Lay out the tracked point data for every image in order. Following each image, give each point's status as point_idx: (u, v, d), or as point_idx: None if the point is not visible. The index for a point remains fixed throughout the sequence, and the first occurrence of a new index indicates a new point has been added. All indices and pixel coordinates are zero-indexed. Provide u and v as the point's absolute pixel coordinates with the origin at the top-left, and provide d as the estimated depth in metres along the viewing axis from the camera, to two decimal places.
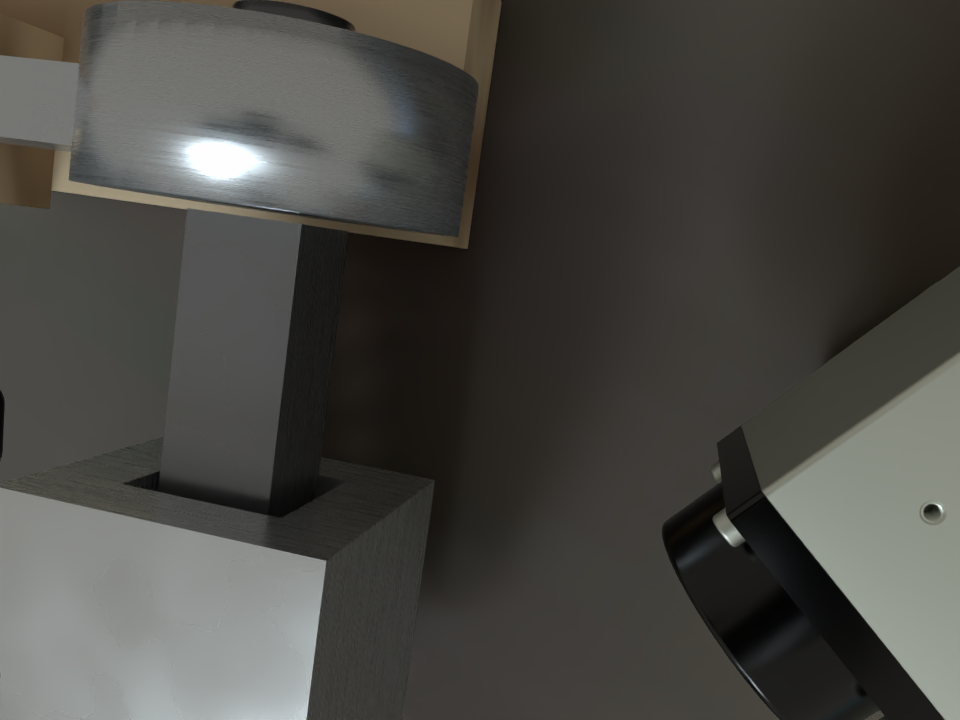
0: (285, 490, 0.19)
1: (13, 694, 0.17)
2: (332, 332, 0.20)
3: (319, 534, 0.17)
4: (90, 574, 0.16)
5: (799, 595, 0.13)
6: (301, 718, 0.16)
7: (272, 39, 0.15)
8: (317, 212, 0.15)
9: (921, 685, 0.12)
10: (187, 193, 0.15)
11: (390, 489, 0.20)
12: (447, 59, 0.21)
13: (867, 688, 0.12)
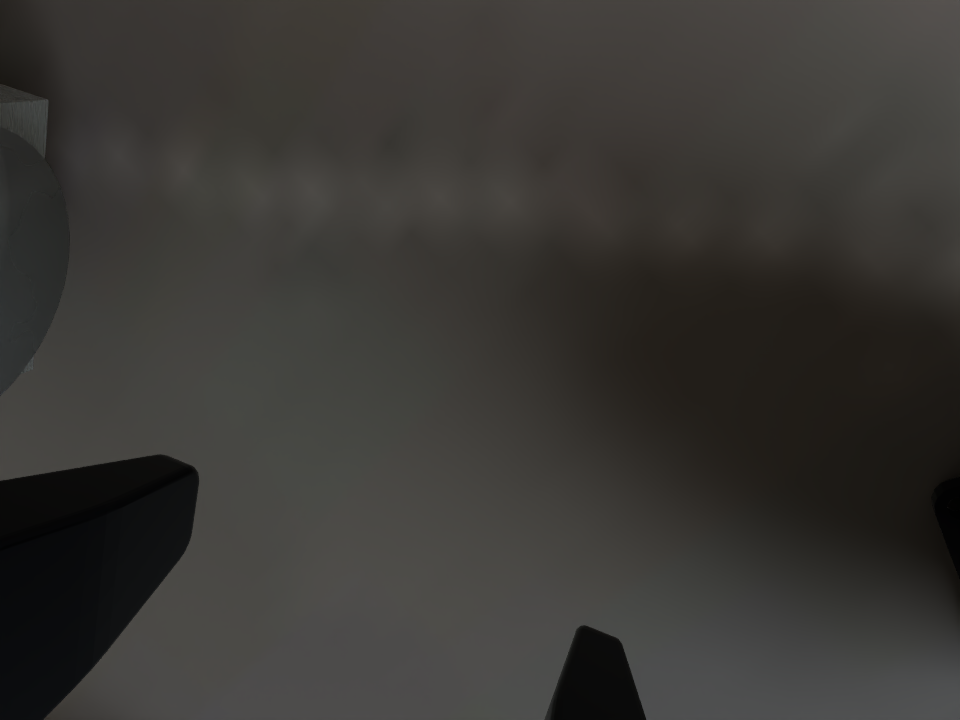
0: None
1: None
2: None
3: None
4: None
5: None
6: None
7: None
8: None
9: None
10: None
11: None
12: None
13: None
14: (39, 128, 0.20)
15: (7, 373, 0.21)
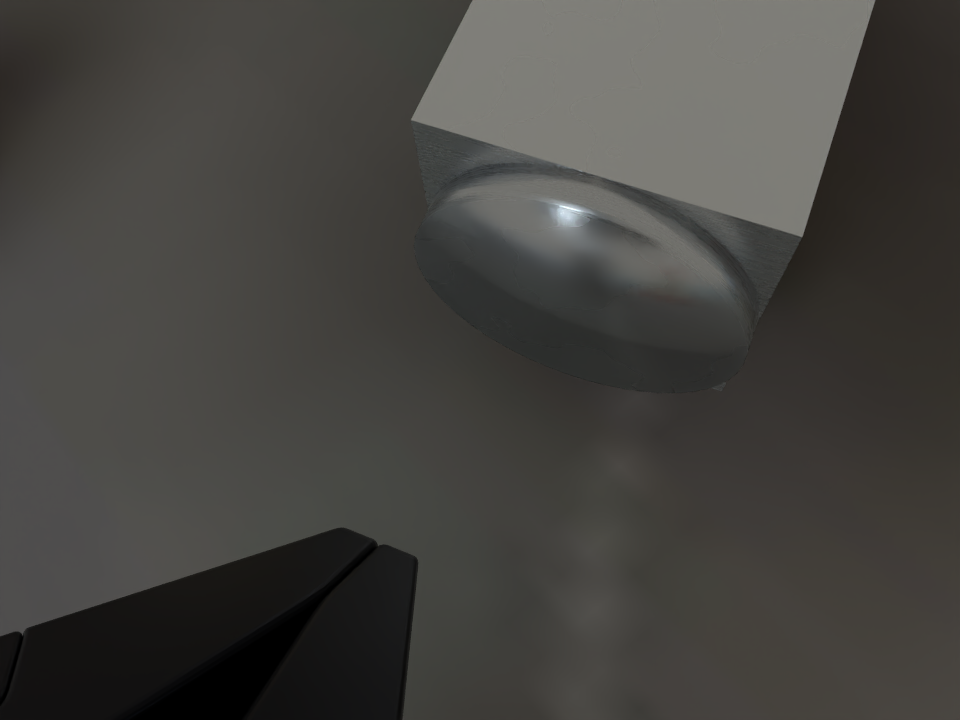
0: None
1: None
2: None
3: None
4: None
5: None
6: (858, 34, 0.16)
7: None
8: None
9: None
10: None
11: None
12: None
13: None
14: None
15: (458, 304, 0.19)
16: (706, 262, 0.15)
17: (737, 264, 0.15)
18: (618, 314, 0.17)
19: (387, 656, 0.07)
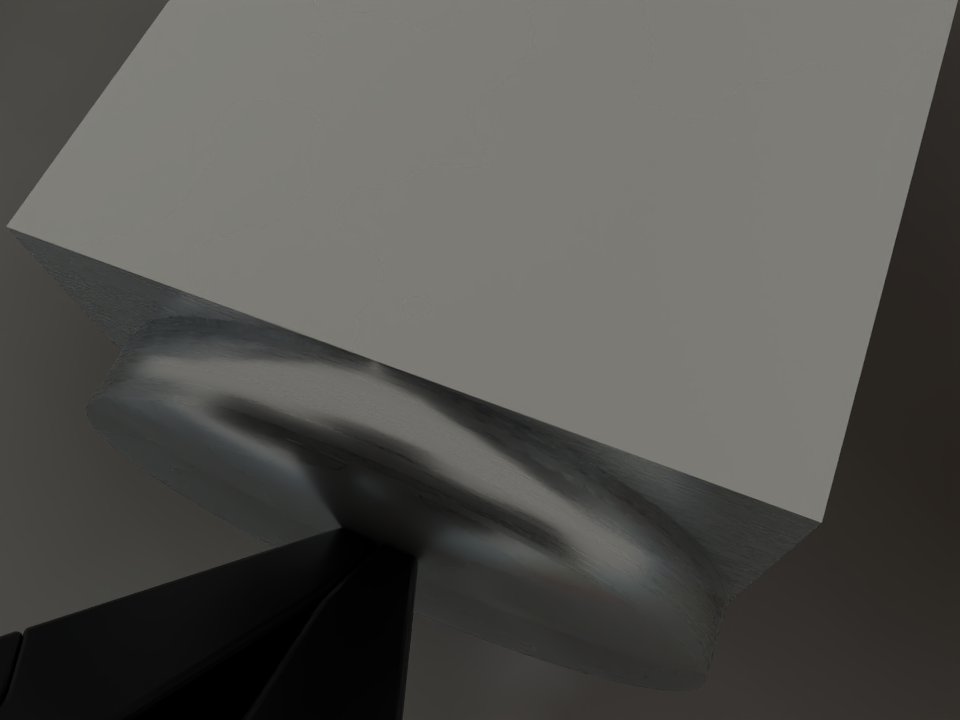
0: None
1: None
2: None
3: None
4: None
5: None
6: (928, 65, 0.08)
7: None
8: None
9: None
10: None
11: None
12: None
13: None
14: None
15: (222, 514, 0.11)
16: (611, 548, 0.07)
17: (683, 532, 0.07)
18: (464, 585, 0.09)
19: (387, 655, 0.07)
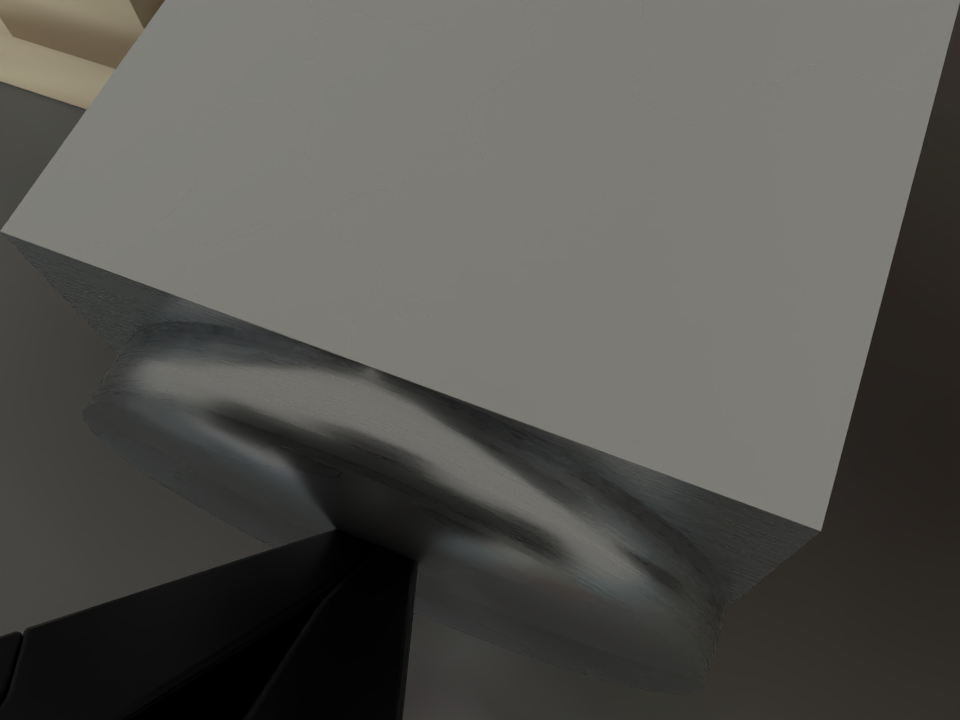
0: None
1: None
2: None
3: None
4: None
5: None
6: (930, 65, 0.08)
7: None
8: None
9: None
10: None
11: None
12: None
13: None
14: None
15: (221, 515, 0.11)
16: (609, 555, 0.07)
17: (682, 537, 0.07)
18: (463, 589, 0.09)
19: (387, 655, 0.07)
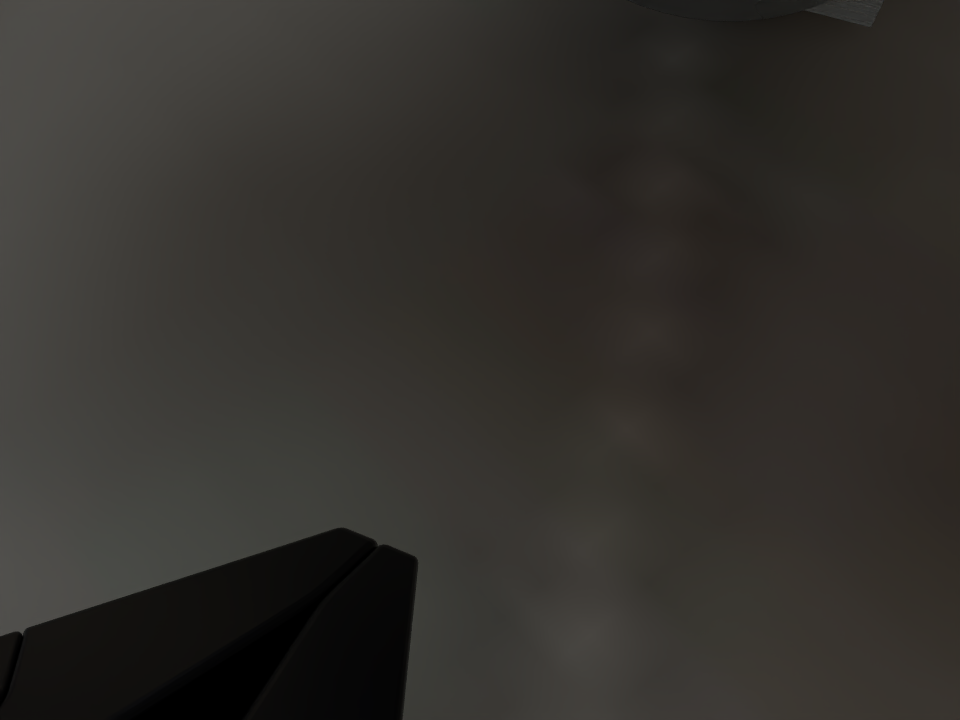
0: None
1: None
2: None
3: None
4: None
5: None
6: None
7: None
8: None
9: None
10: None
11: None
12: None
13: None
14: (837, 8, 0.15)
15: None
16: None
17: None
18: None
19: (387, 655, 0.07)
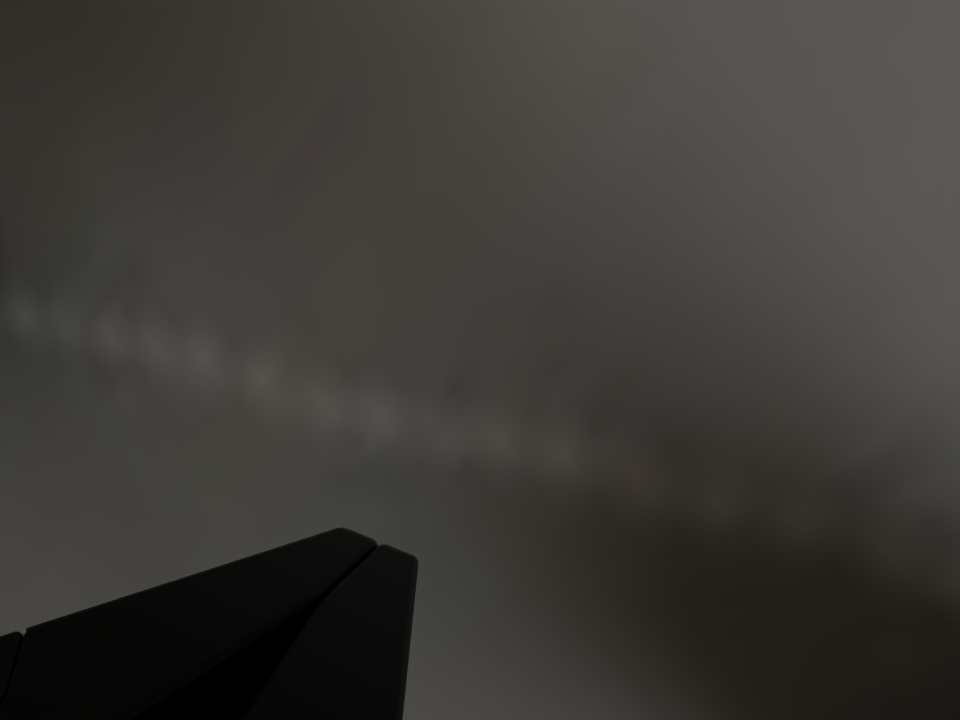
0: None
1: None
2: None
3: None
4: None
5: None
6: None
7: None
8: None
9: None
10: None
11: None
12: None
13: None
14: None
15: None
16: None
17: None
18: None
19: (387, 656, 0.07)
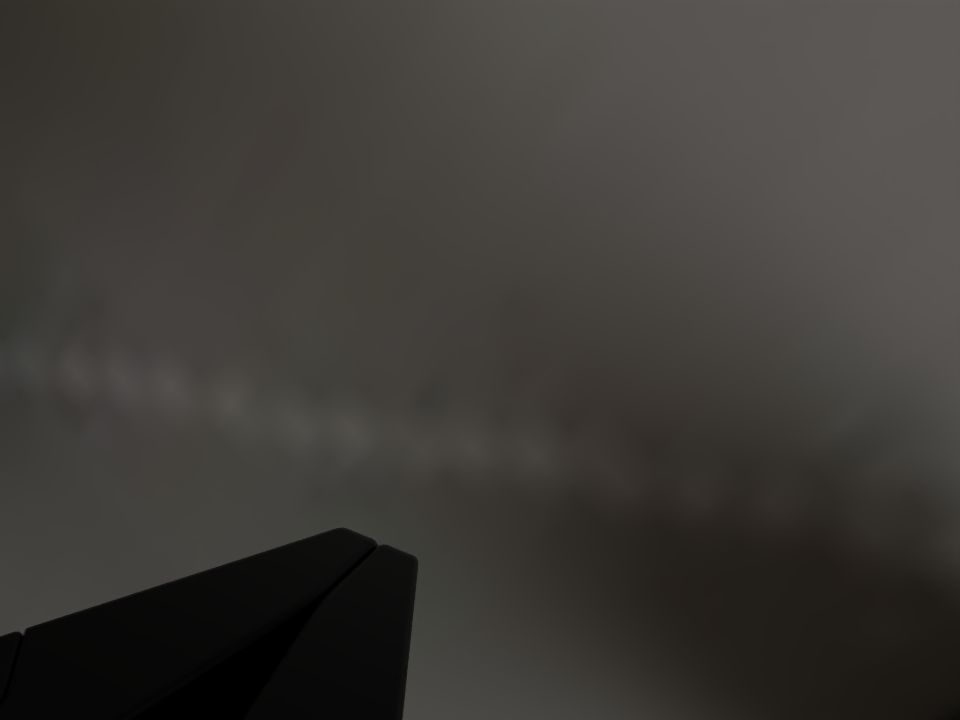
0: None
1: None
2: None
3: None
4: None
5: None
6: None
7: None
8: None
9: None
10: None
11: None
12: None
13: None
14: None
15: None
16: None
17: None
18: None
19: (387, 656, 0.07)
